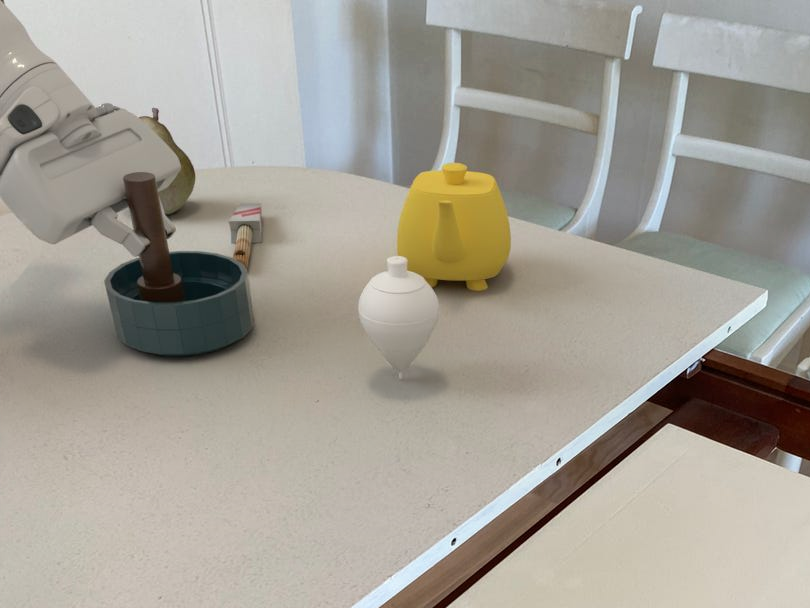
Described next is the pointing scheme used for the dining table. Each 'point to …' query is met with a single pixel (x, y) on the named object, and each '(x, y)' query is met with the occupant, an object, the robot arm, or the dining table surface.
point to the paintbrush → (246, 230)
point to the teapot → (454, 227)
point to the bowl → (183, 306)
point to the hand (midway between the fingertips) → (156, 243)
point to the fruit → (185, 179)
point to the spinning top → (398, 313)
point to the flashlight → (152, 240)
